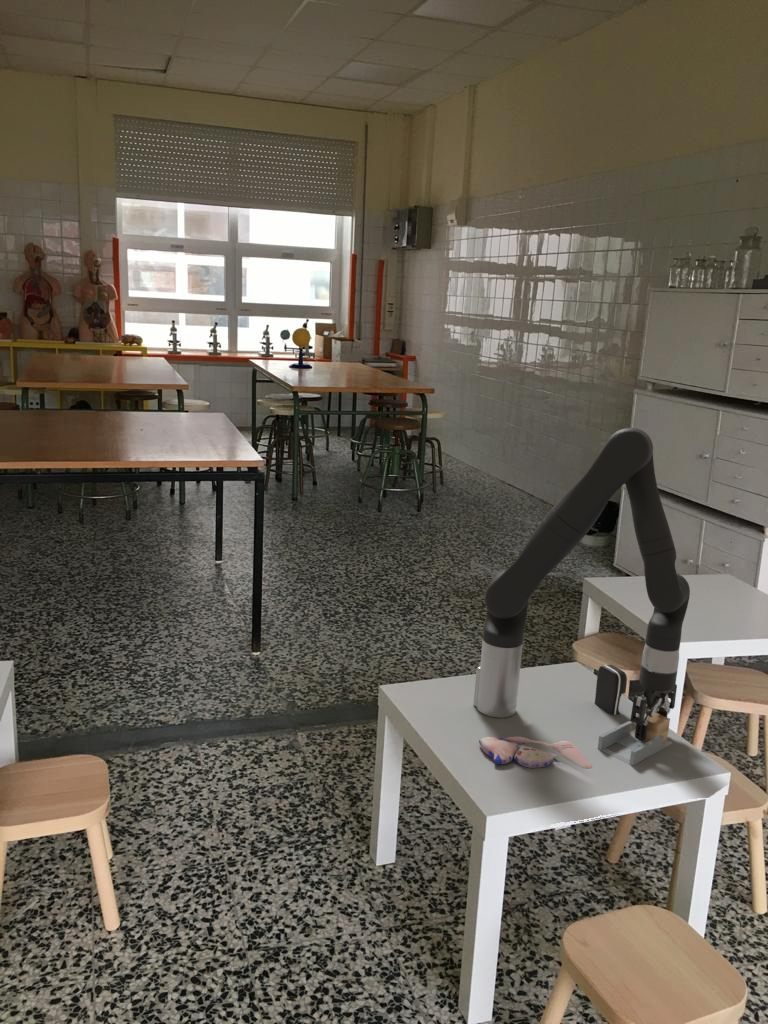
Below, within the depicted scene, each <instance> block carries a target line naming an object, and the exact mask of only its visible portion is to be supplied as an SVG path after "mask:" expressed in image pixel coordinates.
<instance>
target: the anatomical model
mask: <svg viewBox="0 0 768 1024" xmlns="http://www.w3.org/2000/svg"><path fill="white" fill-rule="evenodd" d="M478 743H479V746H480V748H481V750H482V751H483V753H485V754H486V755H488V756H489V757H490V758H492V759H493V762H494V763H495V764H497V765H505V764H508V763H511V762H513V758H514V761H515V762H516V763H518V765H521V766H523V767H525V768H529V769H530V768H531V769H532V768H533V769H535V768H544V767H547V766H549V765H551V764H552V763H553V762H555V760H556V757H557V754H555V753H552V752H551V751H549V750H545V749H539V748H534V747H522V748H521V747H520V749H518V745H527V743H534V744H540V745H544V746H547V747H551V748H552V749H553V750H555V751H557V752H558V753H559V755H561V757H563V758H564V759H566V760H567V761H569V762H571V763H573V764H574V765H576V766H578V767H580V768H582V769H584V770H586V769H590V770H591V769H592V768H594V766H593V764H592V763H591V762H590V761H589V759H588V758H586V756H585V755H584V754H583V753H582V752H581V751H580V750H579V749H578V748H577V746H576V745H575V744H574V743H573V742H571V741H570V740H569V739H564V740H561V741H557V742H554V743H547V742H545V741H542V740H534V739H531V738H527V737H523V736H506V737H492V736H486V737H483V738H480V739H479V740H478Z"/></svg>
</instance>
